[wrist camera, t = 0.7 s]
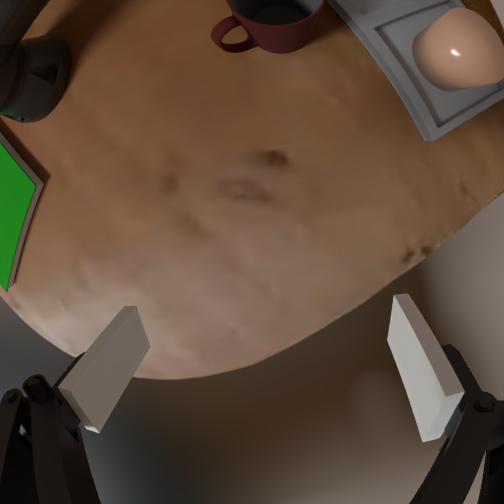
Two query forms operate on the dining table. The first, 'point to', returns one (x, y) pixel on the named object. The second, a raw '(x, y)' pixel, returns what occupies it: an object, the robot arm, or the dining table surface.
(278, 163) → the dining table surface
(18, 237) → the book
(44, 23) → the dining table surface
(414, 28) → the holder
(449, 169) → the dining table surface
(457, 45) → the peach rounded cylinder
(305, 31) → the mug
